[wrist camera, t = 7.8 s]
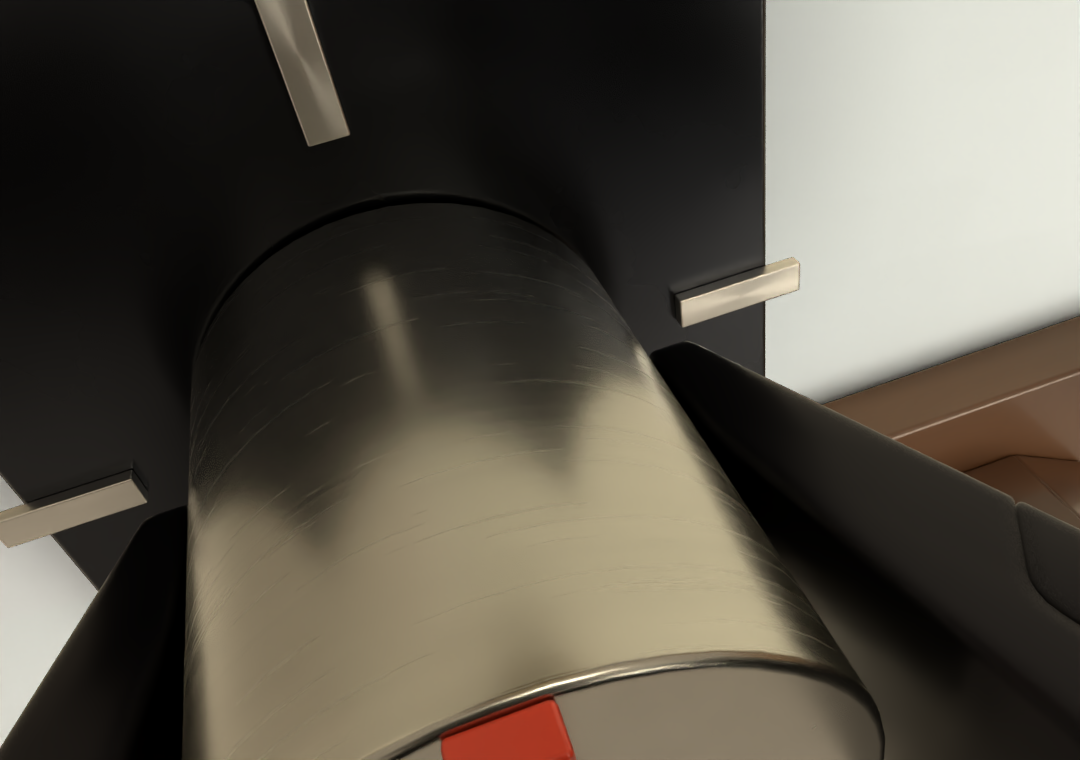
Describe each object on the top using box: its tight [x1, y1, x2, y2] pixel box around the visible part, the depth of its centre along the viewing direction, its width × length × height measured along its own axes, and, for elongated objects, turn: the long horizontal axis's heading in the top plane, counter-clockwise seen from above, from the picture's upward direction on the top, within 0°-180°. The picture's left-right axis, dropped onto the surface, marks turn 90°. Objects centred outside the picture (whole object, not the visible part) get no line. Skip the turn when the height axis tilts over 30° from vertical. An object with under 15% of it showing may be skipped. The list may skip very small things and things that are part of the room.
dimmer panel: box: [0, 0, 800, 591], centre depth 10 cm, size 10×9×3 cm
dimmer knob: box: [182, 203, 885, 760], centre depth 7 cm, size 4×4×5 cm
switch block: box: [823, 316, 1080, 529], centre depth 17 cm, size 10×8×3 cm
